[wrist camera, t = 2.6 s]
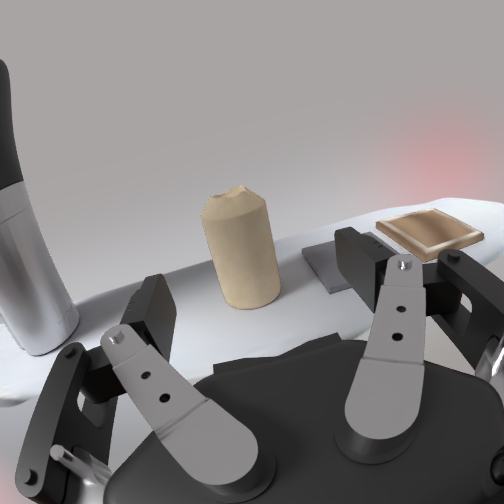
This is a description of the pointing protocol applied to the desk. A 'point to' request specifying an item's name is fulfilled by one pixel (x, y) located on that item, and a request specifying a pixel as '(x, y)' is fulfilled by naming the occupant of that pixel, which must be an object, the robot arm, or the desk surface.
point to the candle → (242, 248)
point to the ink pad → (330, 264)
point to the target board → (429, 232)
